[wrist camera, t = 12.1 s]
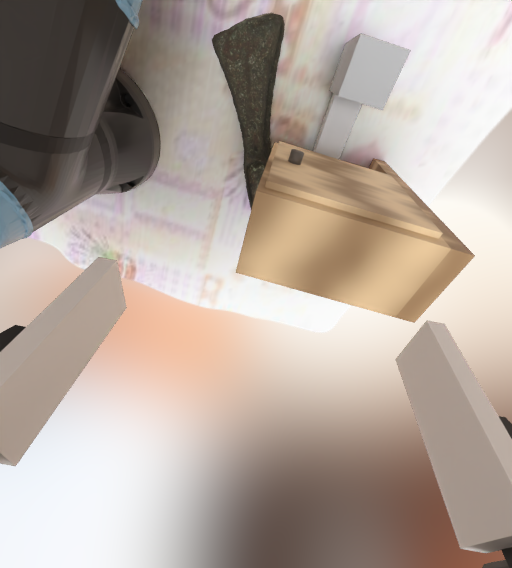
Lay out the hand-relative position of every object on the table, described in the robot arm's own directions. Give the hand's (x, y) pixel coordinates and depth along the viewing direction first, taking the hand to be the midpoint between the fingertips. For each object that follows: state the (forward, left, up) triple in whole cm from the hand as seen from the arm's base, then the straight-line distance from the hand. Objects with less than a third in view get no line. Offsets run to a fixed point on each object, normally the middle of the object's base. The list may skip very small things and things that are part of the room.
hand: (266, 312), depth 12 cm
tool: (-6, +1, -29) cm, 30 cm away
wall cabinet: (+4, 0, -29) cm, 29 cm away
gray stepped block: (+4, +3, -29) cm, 29 cm away
